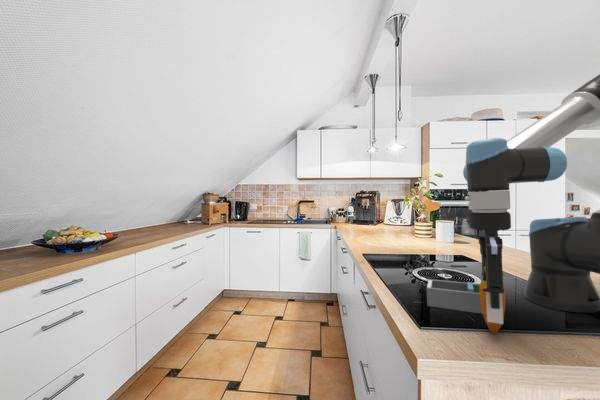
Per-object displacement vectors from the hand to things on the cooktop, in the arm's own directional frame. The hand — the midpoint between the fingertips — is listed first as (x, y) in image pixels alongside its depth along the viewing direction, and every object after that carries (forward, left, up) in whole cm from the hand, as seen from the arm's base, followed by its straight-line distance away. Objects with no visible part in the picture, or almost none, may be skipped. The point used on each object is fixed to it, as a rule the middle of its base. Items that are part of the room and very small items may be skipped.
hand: (493, 316), depth 59 cm
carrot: (0, 0, -4) cm, 4 cm away
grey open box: (+5, -15, -4) cm, 16 cm away
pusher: (+3, -15, -3) cm, 16 cm away
